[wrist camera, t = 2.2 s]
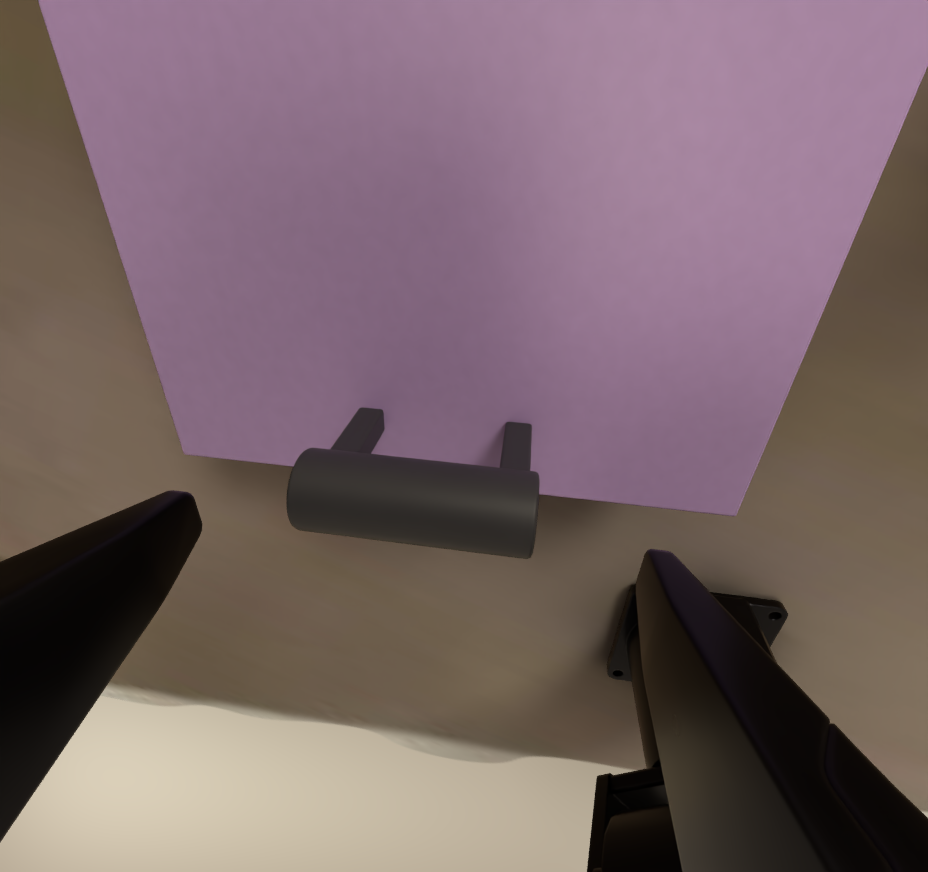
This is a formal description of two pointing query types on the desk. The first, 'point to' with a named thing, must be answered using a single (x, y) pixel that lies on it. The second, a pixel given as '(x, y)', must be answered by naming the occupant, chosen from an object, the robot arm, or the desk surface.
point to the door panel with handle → (485, 236)
